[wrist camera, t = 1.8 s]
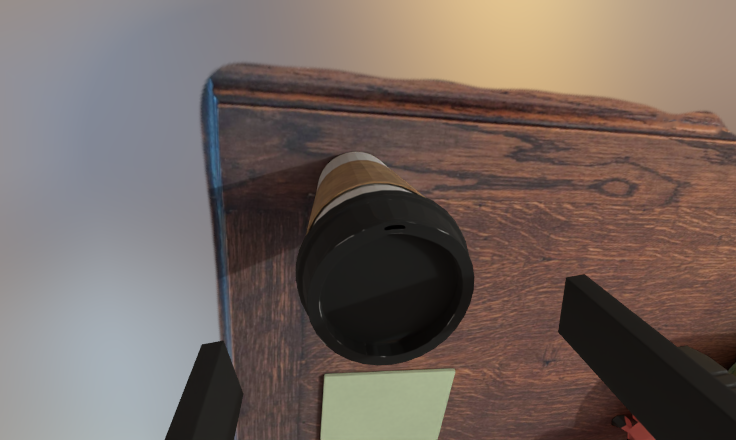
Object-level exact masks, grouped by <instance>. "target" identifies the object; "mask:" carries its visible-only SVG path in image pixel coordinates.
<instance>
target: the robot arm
mask: <svg viewBox="0 0 736 440" xmlns="http://www.w3.org/2000/svg"><path fill="white" fill-rule="evenodd" d="M558 332H559V333H560V335H561V336H562V337H563V338H564V339H565V340H566V341H567V342H568V343H569V345H570V346H571V347H572V348H573V349H574V350H575V351H576V352H577V353H578V354H579V356H580V357H581V358H582V359H583V360H584V361H585V362H586V363H587V364H588V366H589V367H590V368H591V369H592V370H593V371H594V372H595V373H596V374H597V375H598V377H599V378H600V379H601V380H602V381H603V382H604V383H605V384H606V385H607V387H608V388H609V389H610V390H611V391H612V392H613V393H614V394H615V395H616V396H617V398H618V399H619V400H620V401H621V402H622V403H623V404H624V405H625V406H626V408H627V409H628V410H629V411H630V412H631V413H632V414H633V415H634V416H635V417H636V419H637V420H638V421H639V422H640V423H641V424H642V425H643V426H644V427H645V428H646V430H647V431H648V432H649V433H650V434H651V435H652V436H653V437H654V438H655V440H736V377H735V376H734V375H733V374H731V373H730V374H729V373H728V372H727V370H726V369H725V368H723V367H722V366H721V365H719V364H718V363H717V362H715V361H714V360H713V359H711V358H710V357H709V356H707V355H705V354H703V353H701V352H699V351H697V350H695V349H693V348H691V347H689V346H681V347H677V346H675V345H674V344H673V343H671V342H670V341H669V340H668V339H666V338H665V337H664V336H663V335H661V334H660V333H659V332H657V331H656V330H655V329H654V328H652V327H651V326H650V325H649V324H647V323H646V322H645V321H643V320H642V319H641V318H640V317H638V316H637V315H636V314H635V313H633V312H632V311H631V310H629V309H628V308H627V307H626V306H624V305H623V304H622V303H621V302H619V301H618V300H617V299H615V298H614V297H613V296H612V295H610V294H609V293H608V292H606V291H605V290H604V289H603V288H601V287H600V286H599V285H598V284H596V283H595V282H594V281H592V280H591V279H590V278H589V277H587V276H586V275H585V274H583V275H578V276H572V277H567V278H566V282H565V289H564V296H563V302H562V309H561V316H560V323H559V330H558ZM242 398H243V392H242V389H241V386H240V384H239V381H238V378H237V375H236V373H235V370H234V367H233V365H232V362H231V359H230V356H229V354H228V351H227V348H226V346H225V343H224V341H218V342H213V343H208V344H202V346H201V348H200V351H199V353H198V356H197V358H196V361H195V363H194V366H193V369H192V371H191V374H190V376H189V379H188V381H187V384H186V386H185V389H184V392H183V394H182V397H181V399H180V402H179V404H178V407H177V410H176V412H175V415H174V417H173V420H172V422H171V425H170V427H169V430H168V433H167V435H166V438H165V440H234V437H235V432H236V427H237V422H238V417H239V413H240V408H241V403H242Z"/></svg>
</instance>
